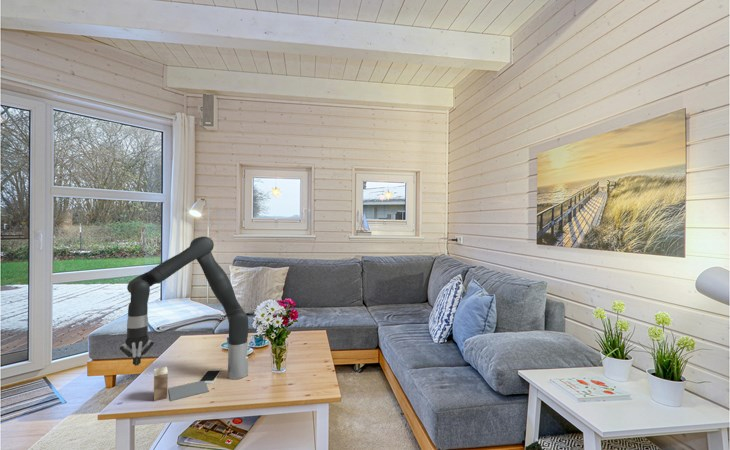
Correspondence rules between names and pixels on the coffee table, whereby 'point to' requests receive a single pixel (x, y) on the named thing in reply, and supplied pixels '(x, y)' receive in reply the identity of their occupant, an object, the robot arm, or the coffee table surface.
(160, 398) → the brown wooden block
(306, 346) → the coffee table surface
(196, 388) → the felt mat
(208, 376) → the smartphone
